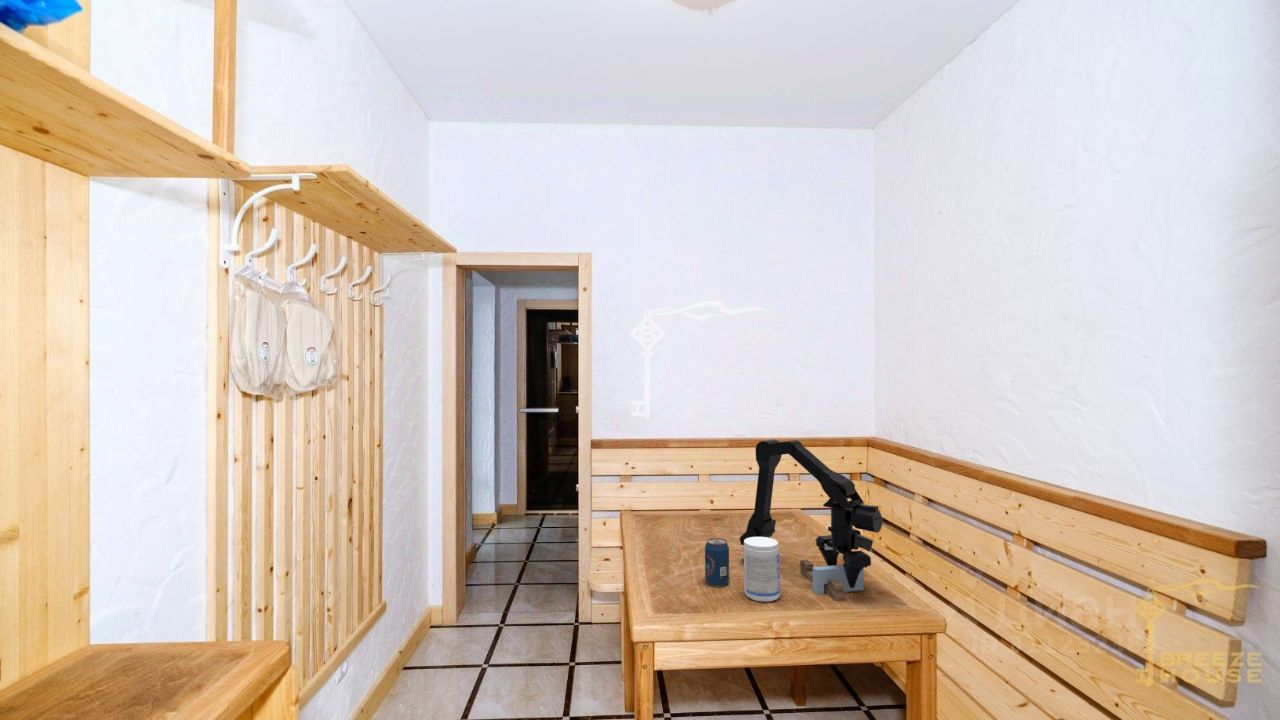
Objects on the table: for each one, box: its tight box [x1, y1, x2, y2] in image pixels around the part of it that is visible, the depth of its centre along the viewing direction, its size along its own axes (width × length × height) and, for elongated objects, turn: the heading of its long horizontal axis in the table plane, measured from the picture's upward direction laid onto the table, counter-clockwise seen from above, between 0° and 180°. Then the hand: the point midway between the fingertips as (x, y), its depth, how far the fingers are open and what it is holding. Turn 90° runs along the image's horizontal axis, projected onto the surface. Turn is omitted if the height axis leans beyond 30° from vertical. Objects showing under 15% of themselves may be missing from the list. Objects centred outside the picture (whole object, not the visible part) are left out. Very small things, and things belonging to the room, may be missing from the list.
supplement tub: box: [743, 537, 781, 603], centre depth 148 cm, size 10×10×15 cm
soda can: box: [704, 537, 730, 588], centre depth 157 cm, size 7×7×12 cm
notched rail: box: [799, 559, 845, 601], centre depth 154 cm, size 20×2×4 cm, turn 11°
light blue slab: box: [812, 564, 865, 595], centre depth 151 cm, size 14×2×6 cm, turn 100°
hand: (842, 581), depth 151 cm, fingers open, 9 cm apart
